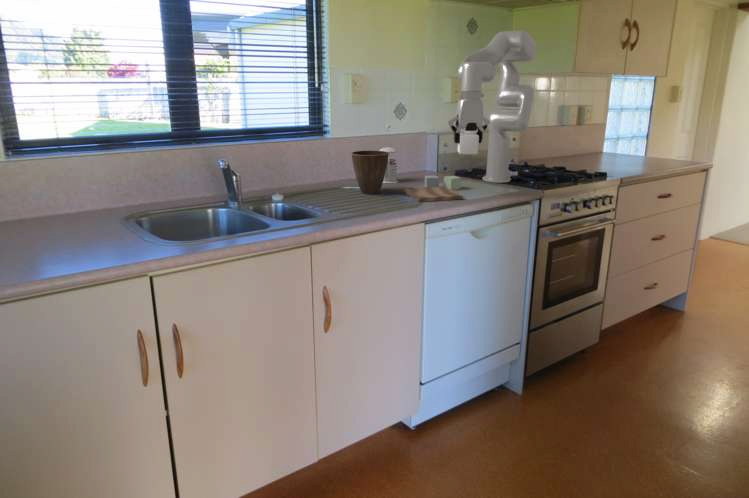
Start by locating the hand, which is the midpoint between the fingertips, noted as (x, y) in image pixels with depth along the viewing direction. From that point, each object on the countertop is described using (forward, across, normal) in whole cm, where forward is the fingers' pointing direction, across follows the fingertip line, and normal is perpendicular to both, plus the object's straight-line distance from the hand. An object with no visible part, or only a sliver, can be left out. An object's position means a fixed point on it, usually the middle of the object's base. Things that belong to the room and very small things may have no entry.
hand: (467, 142), depth 203 cm
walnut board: (+20, +14, -1) cm, 25 cm away
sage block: (+20, 0, -12) cm, 24 cm away
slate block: (+20, +8, -15) cm, 27 cm away
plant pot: (+21, +35, -15) cm, 43 cm away
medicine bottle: (+4, 0, 0) cm, 4 cm away
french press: (+21, +22, -34) cm, 45 cm away
